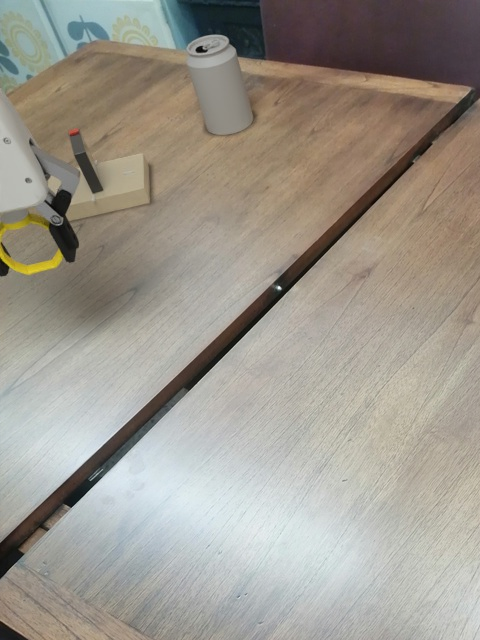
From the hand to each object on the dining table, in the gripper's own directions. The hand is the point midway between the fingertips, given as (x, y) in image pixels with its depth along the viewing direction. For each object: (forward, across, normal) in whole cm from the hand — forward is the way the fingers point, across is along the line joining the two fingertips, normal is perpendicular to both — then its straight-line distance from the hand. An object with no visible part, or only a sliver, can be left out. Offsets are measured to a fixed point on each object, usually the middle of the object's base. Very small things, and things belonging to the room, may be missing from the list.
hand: (38, 260), depth 70 cm
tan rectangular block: (+13, -1, +34) cm, 36 cm away
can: (+13, +18, +48) cm, 53 cm away
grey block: (+10, -1, +34) cm, 35 cm away
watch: (+1, 0, 0) cm, 1 cm away
